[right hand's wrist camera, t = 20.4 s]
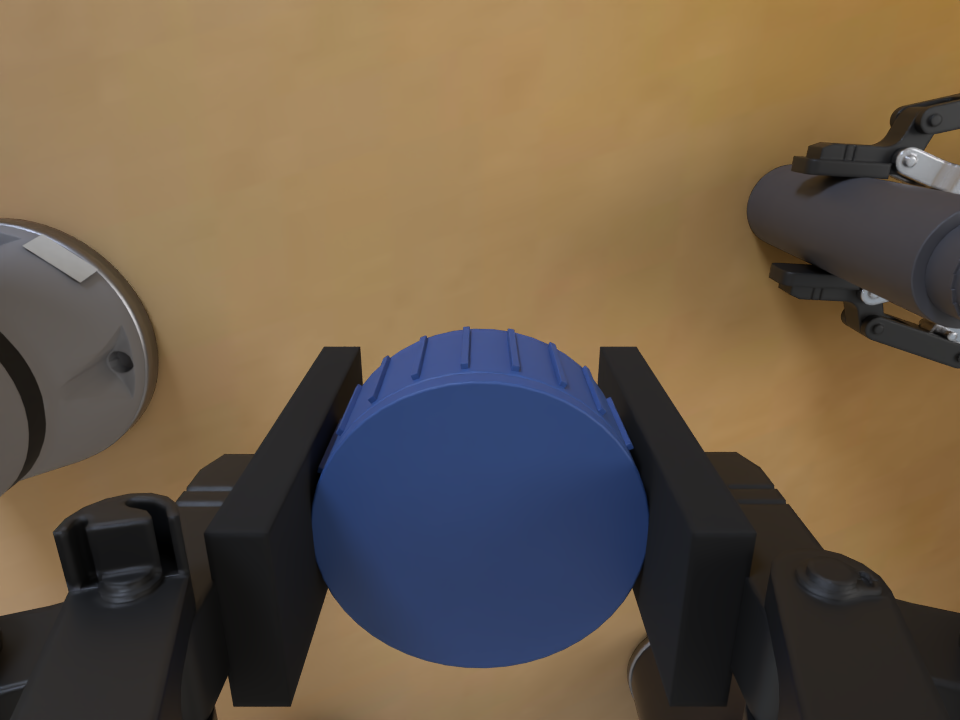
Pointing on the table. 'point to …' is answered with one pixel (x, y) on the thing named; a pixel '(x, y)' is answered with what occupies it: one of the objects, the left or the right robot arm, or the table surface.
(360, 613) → the lid
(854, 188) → the dark gray cylinder
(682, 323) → the table surface
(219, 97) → the table surface
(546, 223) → the table surface
